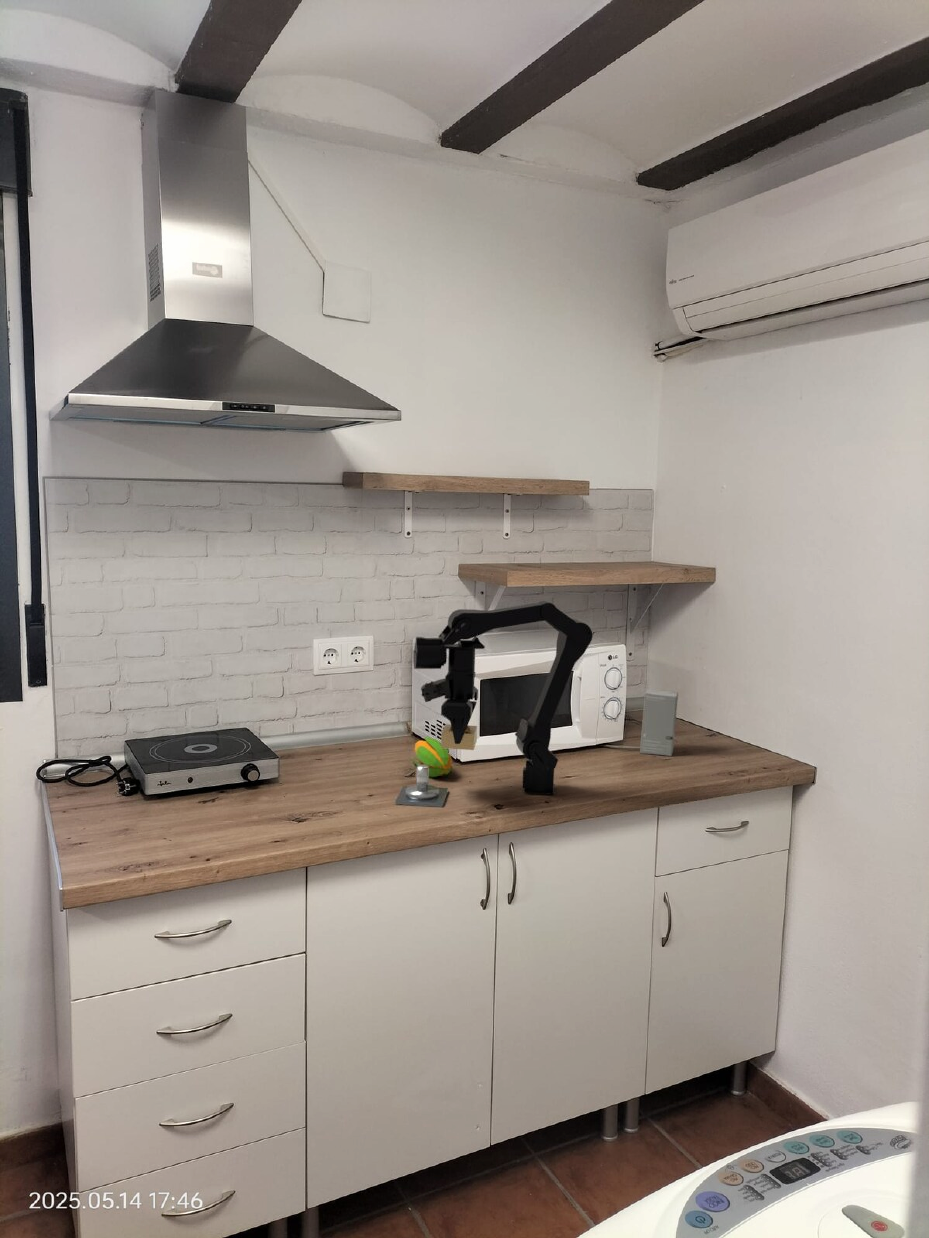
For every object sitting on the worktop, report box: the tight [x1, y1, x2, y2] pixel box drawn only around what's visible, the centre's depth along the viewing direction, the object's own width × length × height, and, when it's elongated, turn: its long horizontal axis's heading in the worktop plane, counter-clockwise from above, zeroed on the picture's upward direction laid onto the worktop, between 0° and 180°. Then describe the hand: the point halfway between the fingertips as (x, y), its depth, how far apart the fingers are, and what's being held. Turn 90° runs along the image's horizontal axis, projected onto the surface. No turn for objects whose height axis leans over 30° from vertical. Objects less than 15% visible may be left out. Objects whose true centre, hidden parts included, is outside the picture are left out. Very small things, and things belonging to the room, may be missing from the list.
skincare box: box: [639, 688, 679, 757], centre depth 235 cm, size 8×7×16 cm
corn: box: [410, 736, 453, 778], centre depth 216 cm, size 7×8×20 cm
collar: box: [440, 723, 478, 751], centre depth 198 cm, size 7×7×4 cm
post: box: [394, 764, 449, 808], centre depth 196 cm, size 10×10×7 cm
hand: (459, 739), depth 198 cm, fingers closed on collar, 7 cm apart
